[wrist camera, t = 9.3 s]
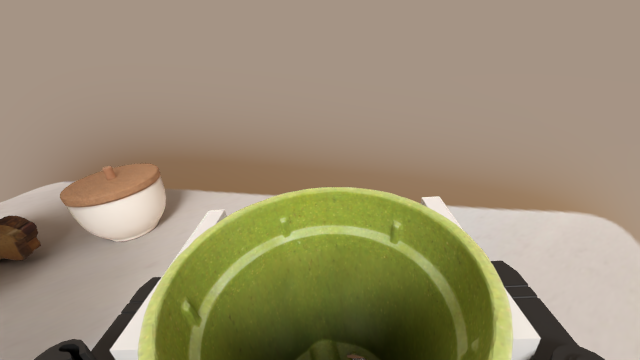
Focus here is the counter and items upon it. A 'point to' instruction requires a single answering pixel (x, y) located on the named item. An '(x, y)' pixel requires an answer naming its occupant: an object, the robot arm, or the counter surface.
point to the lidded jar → (118, 201)
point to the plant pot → (330, 285)
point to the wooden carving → (17, 238)
